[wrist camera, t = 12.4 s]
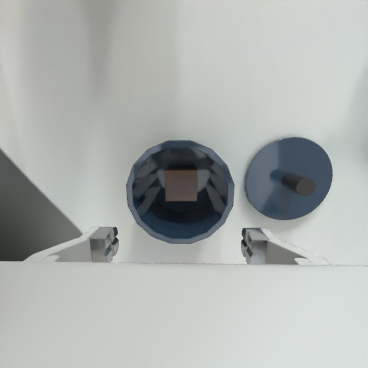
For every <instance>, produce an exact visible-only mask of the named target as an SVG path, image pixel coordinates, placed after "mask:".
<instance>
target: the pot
mask: <svg viewBox="0 0 368 368" xmlns="http://www.w3.org/2000/svg"><path fill="white" fill-rule="evenodd" d="M168 166H196V168H197V201H166V194H165V170H166V168H167V167H168ZM126 189H127V202H128V207H129V209H130V211H131V213H132V215H133V217H134V219H135V221H136V223H137V224H138V225H139V226H140V227H142V228H143V229H144V230H145V231H146V232H147V233H148V234H150V235H151V236H152V237H154V238H157V239H160V240H162V241H165V242H167V243H171V244H191V243H194V242H197V241H199V240H202V239H205V238H208V237H210V236H211V235H212V234H213V233H214V232H215V231H216V230H218V229H219V228H220V227H221V226H222V225H223V224H224V223H225V221H226V219H227V217H228V215H229V213H230V211H231V209H232V207H233V199H234V183H233V180H232V177H231V175H230V172H229V169H228V166H227V165H226V164H225V163H224V161H223V160H222V159H221V158H220V157H219V156H218V155H217V154H216V153H215V152H214V151H213V150H212V149H210V148H208V147H205V146H203V145H201V144H198V143H196V142H193V141H191V140H182V141H166V142H164V143H161V144H159V145H157V146H155V147H152V148H150V149H148V150H147V151H146V152H145V153H144V154H143V155H142V156H141V157H140V158H139V159H138V160H137V162H136V163H135V164H134V165H133V167H132V170H131V173H130V176H129V178H128V181H127V184H126Z"/></svg>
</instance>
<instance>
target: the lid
mask: <svg viewBox="0 0 368 368" xmlns="http://www.w3.org/2000/svg"><path fill="white" fill-rule="evenodd" d="M332 176H333V174H332V165H331V162H330V159H329V157H328V155H327V153H326V152H325V151H324V150H323V149H322V148H321V147H320V146H319V145H318V144H316V143H315V142H313V141H311V140H308V139H305V138H298V137H291V138H284V139H280V140H277V141H274V142H272V143H270V144H269V145H267V146H265V147H264V148H263V149H262V150H261V151H260V152H259V153H258V154H257V155H256V156H255V157H254V159H253V160H252V162H251V164H250V166H249V168H248V171H247V175H246V191H247V195H248V197H249V200H250V201H251V203H252V204H253V206H254V207H255V208H256V209H257V210H258V211H259V212H261V213H262V214H264V215H265V216H268V217H270V218H273V219H278V220H291V219H296V218H299V217H302V216H304V215H306V214H308V213H310V212H311V211H313V210H314V209H315V208H316V207H318V206H319V205H320V203H321V202H322V201H323V200H324V198H325V197H326V195H327V193H328V192H329V189H330V186H331V182H332Z"/></svg>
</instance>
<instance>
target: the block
mask: <svg viewBox="0 0 368 368" xmlns="http://www.w3.org/2000/svg"><path fill="white" fill-rule="evenodd" d="M165 194H166V201H197V168H196V166H168V167H167V168H166V170H165Z"/></svg>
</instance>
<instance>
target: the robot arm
mask: <svg viewBox="0 0 368 368" xmlns="http://www.w3.org/2000/svg"><path fill="white" fill-rule="evenodd" d="M117 234H118V231H117V228H116V227H91V228H90V229H89V230H88V231H87V232H85V233H84V234H83V235H82V236H81V237H80V238H76V239H73V240H71V241H68V242H65V243H63V244H60V245H57V246H54V247H52V248H49V249H46V250H44V251H41V252H38V253H36V254H33V255H31V256H30V257H28V258H27V259H26V260H24V261H23V262H19V261H17V262H16V261H14V262H13V261H0V368H368V265H332V264H331V263H330V262H328V261H327V260H326V259H325V258H323V257H321V256H318V255H316V254H314V253H311V252H309V251H306V250H304V249H302V248H299V247H297V246H294V245H292V244H290V243H287V242H285V241H282V240H278V238H277V237H276V236H275V235H274V234H273V233H272V232H271V231H270V230H269V229H268V228H243V230H242V236H243V238H244V239H243V240H242V241H241V251H242V254H243V256H244V257H246V262H247V264H193V263H110V262H111V261H112V257H113V256H114V255H116V253H117V251H118V247H119V241H118V239H117V238H116V236H117Z"/></svg>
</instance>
